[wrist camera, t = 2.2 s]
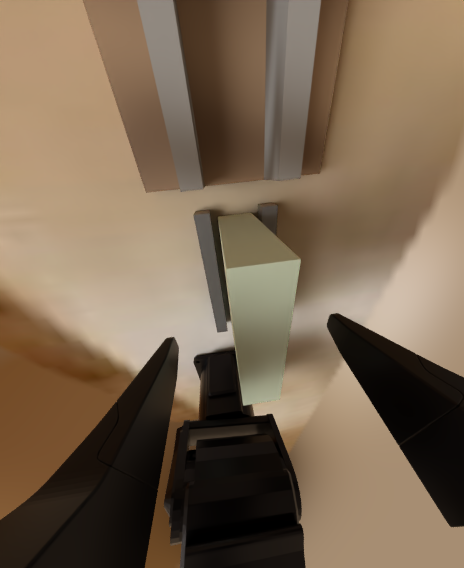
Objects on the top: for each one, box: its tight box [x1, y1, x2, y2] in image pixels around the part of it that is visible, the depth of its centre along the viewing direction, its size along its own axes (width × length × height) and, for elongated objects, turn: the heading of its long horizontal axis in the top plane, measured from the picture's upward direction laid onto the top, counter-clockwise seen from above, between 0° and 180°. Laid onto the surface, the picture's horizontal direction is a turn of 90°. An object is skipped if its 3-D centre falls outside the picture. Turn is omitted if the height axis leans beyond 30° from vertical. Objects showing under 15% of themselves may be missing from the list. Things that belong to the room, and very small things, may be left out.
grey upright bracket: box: [194, 203, 278, 332], centre depth 14 cm, size 11×5×1 cm, turn 5°
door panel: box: [218, 213, 301, 406], centre depth 11 cm, size 10×2×8 cm, turn 5°
